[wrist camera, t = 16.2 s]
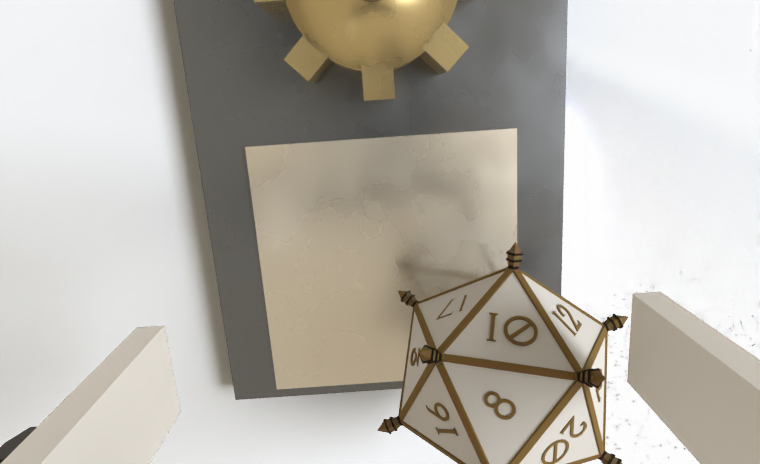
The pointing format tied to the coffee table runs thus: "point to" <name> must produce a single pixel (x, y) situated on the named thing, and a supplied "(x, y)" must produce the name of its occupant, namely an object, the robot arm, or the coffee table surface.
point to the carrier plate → (368, 170)
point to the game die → (506, 373)
